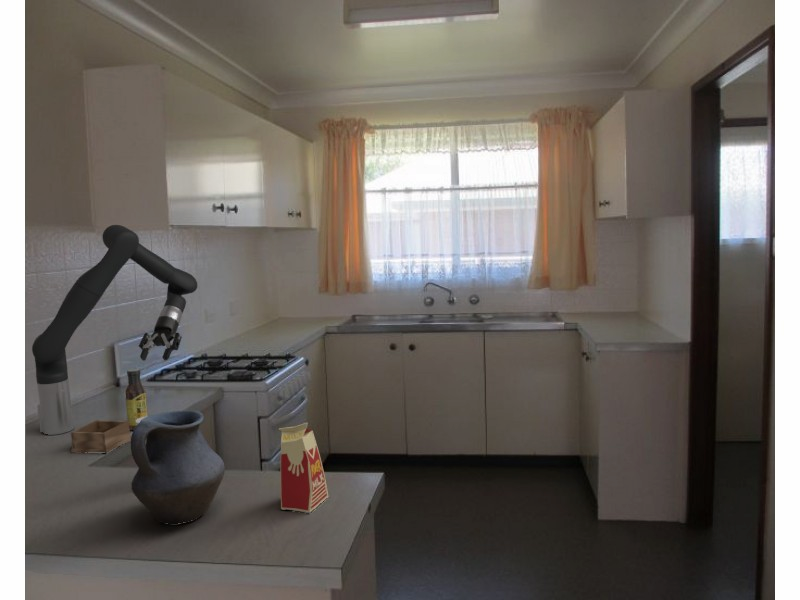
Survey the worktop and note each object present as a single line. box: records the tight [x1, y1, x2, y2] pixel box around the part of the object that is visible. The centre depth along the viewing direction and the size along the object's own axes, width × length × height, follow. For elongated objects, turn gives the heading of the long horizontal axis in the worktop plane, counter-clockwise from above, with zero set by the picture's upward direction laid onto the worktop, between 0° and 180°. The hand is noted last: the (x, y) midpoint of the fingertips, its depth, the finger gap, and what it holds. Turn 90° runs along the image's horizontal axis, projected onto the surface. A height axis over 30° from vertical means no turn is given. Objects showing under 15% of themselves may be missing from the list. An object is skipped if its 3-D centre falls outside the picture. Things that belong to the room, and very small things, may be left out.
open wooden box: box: [70, 419, 132, 454], centre depth 202 cm, size 12×12×6 cm
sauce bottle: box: [125, 368, 148, 431], centre depth 217 cm, size 6×6×20 cm
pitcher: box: [130, 409, 226, 525], centre depth 149 cm, size 21×22×25 cm
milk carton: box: [278, 422, 330, 512], centre depth 153 cm, size 9×9×20 cm
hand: (153, 359), depth 227 cm, fingers open, 8 cm apart
